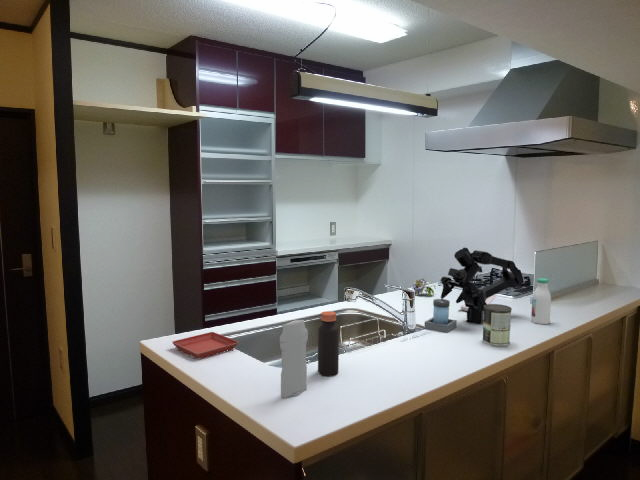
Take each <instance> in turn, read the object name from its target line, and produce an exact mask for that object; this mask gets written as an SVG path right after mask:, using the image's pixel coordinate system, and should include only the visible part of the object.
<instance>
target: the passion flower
mask: <svg viewBox="0 0 640 480" xmlns="http://www.w3.org/2000/svg"><path fill="white" fill-rule="evenodd" d="M426 279H427V278H426V277H423V278H420V279H416V280H414V283H413V284H412V286H411V287H410V288H412V290H413V291H414V292H415V293H414V294H415V296H419V295H422V294H423V291H424V292H425V293H426V294H427V296H429V297H432V295H434V293H435V291H434V289H435V290H436V289H437V287H436V285H435V284H434V285H433V287H434V289H433V288H431V287H432V285H431V286H429V284H430V283H431V281H430V280H428V281H426Z"/></svg>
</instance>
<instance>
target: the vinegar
mask: <svg viewBox="0 0 640 480" xmlns="http://www.w3.org/2000/svg"><path fill="white" fill-rule="evenodd" d="M320 322H321V325H319V326H318V328H317V373H318V375H321V376H324V377H334V376H336V375H338V373H339V360H340V359H339V353H340V352H339V350H340V349H339V348H340V347H339V346H340V345H339V344H340V343H339V340H340V339H339V338H340V337H339V336H340V329H339V328H340V327H339V326H337V324H336V323H337V312H335V311H331V310H329V311H327V310H326V311H322V312H320Z"/></svg>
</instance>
